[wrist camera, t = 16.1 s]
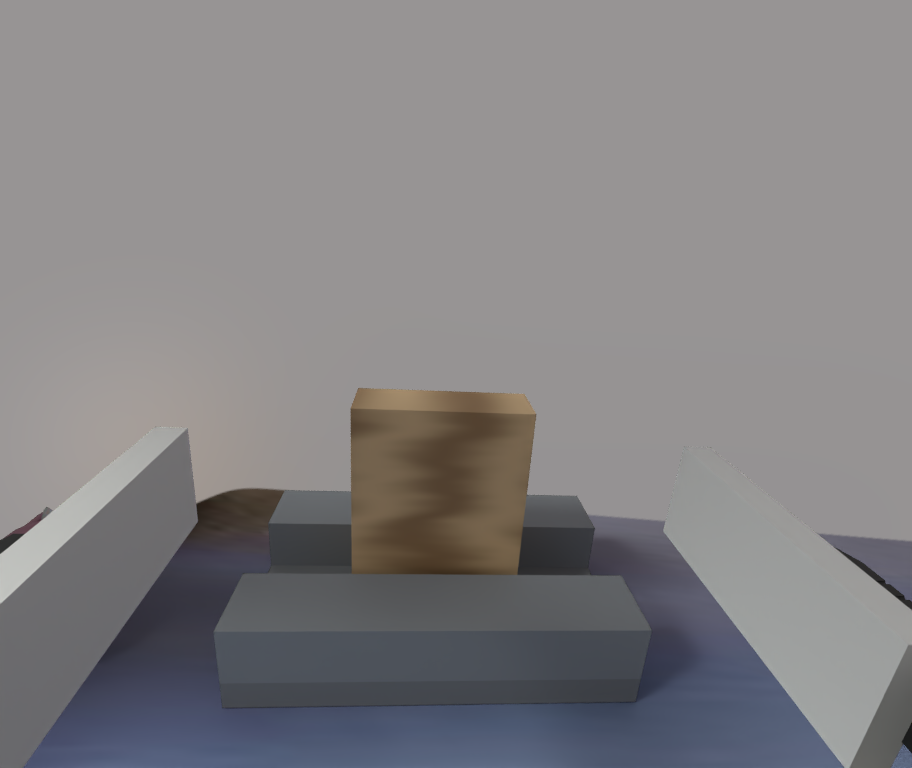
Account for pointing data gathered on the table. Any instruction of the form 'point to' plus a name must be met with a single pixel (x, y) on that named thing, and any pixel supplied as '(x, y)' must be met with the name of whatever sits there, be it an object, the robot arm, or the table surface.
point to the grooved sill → (427, 621)
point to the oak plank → (439, 481)
